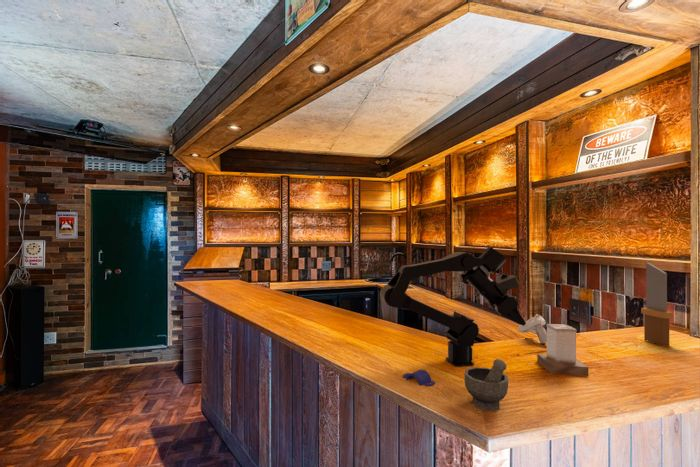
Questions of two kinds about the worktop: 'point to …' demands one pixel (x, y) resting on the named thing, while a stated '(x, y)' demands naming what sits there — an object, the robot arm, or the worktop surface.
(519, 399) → the worktop surface
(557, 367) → the block
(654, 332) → the knife
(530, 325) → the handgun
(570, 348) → the tin
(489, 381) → the mortar and pestle
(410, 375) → the blue animal figurine
